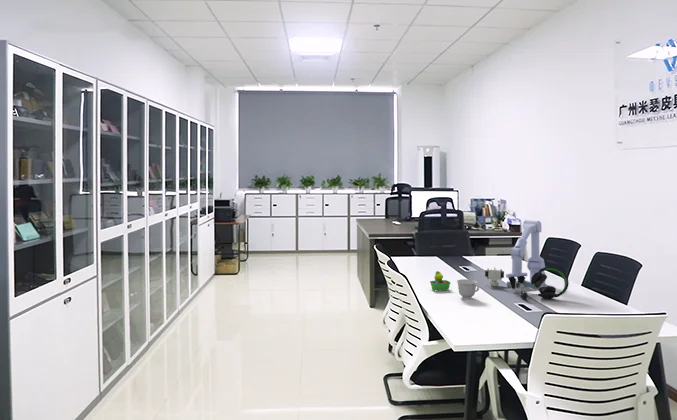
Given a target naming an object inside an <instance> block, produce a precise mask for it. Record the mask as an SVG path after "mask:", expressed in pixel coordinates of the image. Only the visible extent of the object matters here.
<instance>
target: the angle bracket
mask: <svg viewBox="0 0 677 420" xmlns="http://www.w3.org/2000/svg"><path fill="white" fill-rule="evenodd" d="M503 290H504V291H505V292H507V293H511V294H513V295H518V294H519V295H520V294H522V293H524V292H523V284H522V283H519V282H516V283H515V289H512V287H511V283H510V287H509V288H508V287H507V288H504V289H503ZM520 292H521V293H520Z"/></svg>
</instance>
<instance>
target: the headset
mask: <svg viewBox="0 0 677 420" xmlns="http://www.w3.org/2000/svg"><path fill="white" fill-rule="evenodd" d="M543 271H544V272H545V271H553V272H556V273H558V274H559V275H560V276H561V278H562V280H563V281H564V285H563V286H564V287H563V289H562V290H561V291H560V292H559V293H557V288H556V287H555V286H552V285H543V286H542V285H541V284H542V283H543V282H544V281H545V282H546V280H547V278H548V276H547V275H546V273H545V274H542V273H541V272H543ZM531 282H532V283H531V284H532V285H533V284H534V286H535V287H536V288H538V287H540V285H541V288H539V291H538V292H539V293H536V294H534V293H532V295H533V296H537V297H540V298H543V299H545V300H553V298H554V299H555V298H559V297H560V296H562V295H563V294H565V292H566V291H567V290H568V288H569V278H568V276H567V274H566V273H565V272H564V270H562V269H560V268H559V267H557V266H545V268H542V269H540V270H539V272H537V273H535V274H534V275H533V276H532V278H531ZM520 294H521V295H520V298H521V299H522V300H523V299H524V300H525V301H528V299H527V298H528V296H529V295H531V293H530V292H523V293H521V292H520Z"/></svg>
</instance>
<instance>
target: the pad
mask: <svg viewBox="0 0 677 420" xmlns="http://www.w3.org/2000/svg"><path fill="white" fill-rule="evenodd" d="M537 291H538V290H535V289H532V288H529V287H526V286H523V293H524V292H527V293H530V292H537Z"/></svg>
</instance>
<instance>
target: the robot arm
mask: <svg viewBox="0 0 677 420" xmlns="http://www.w3.org/2000/svg"><path fill="white" fill-rule="evenodd" d="M522 229H523V231H522V234H521V236H520V237H519V238H518V239H517V241H516V243H515V245H514V247H511V249H510V256H511V257H510V258H511V259H512V260H511V272H510V273H506V274H505V278H506V279H507V278H508V282H510V283H511V287H512V289H515V283H516V281H518V282H519V283H522V284H523V282H524V280H526V277H528V272H523V258H524V255H525V249H526V246H527V245H528V241H527V240H528V238H529V237H530V238H531V239H530V243H531V245H530V248H531V250H530V251H531V252H530V254H531V255H530V257H529V258H528V259H527V262H526V266H527V269H528V271H529V282H531V278H532V276H533V275H534V274H535V273H537V272H539V270H540V269H542V268H545V267H546V265H545V260H544V258H543V257H541V256H540V255H541V254H540V233H542V222H541V221H540V220H528V219H525V220H523V223H522ZM541 273H542V274H545V275H546V272H545V271H543V272H541ZM541 286H547V283H546V280H545V281H544V282H543V283H542V284H541Z"/></svg>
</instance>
